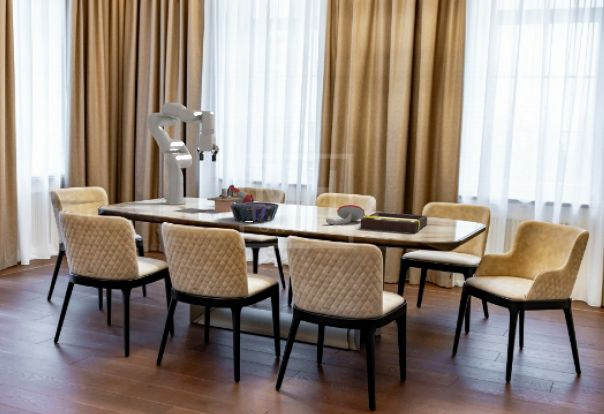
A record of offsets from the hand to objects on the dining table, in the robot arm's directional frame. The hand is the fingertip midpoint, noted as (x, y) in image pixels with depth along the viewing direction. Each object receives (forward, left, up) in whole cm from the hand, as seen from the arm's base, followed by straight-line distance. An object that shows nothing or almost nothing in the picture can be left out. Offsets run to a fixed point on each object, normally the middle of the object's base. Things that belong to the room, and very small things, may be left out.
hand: (207, 161), depth 391 cm
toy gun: (+9, +15, -29) cm, 34 cm away
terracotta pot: (+17, -5, -28) cm, 33 cm away
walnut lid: (+17, -5, -21) cm, 28 cm away
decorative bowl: (+48, -17, -29) cm, 58 cm away
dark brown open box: (+117, +10, -29) cm, 121 cm away
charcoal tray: (+3, -17, -28) cm, 33 cm away
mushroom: (+89, +5, -29) cm, 94 cm away
